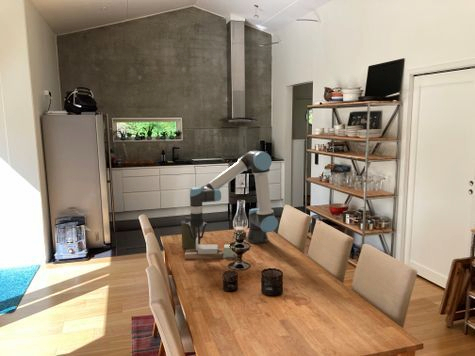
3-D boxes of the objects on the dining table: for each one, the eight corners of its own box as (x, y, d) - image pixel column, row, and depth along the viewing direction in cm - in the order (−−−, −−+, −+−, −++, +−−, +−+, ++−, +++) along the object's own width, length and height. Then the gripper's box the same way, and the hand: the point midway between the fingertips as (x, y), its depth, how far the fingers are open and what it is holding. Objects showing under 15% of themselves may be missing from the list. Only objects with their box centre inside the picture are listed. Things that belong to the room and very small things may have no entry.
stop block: (224, 253, 244) (224, 244, 243) (233, 253, 244) (233, 244, 243) (224, 256, 238) (224, 247, 237) (233, 256, 238) (233, 247, 237)
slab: (199, 249, 245) (198, 244, 244) (217, 248, 245) (217, 244, 244) (197, 253, 236) (197, 249, 235) (217, 253, 236) (217, 248, 235)
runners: (186, 253, 245) (186, 249, 244) (222, 253, 245) (222, 248, 245) (184, 258, 236) (184, 254, 236) (221, 258, 236) (221, 253, 236)
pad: (223, 252, 246) (223, 252, 246) (235, 252, 246) (235, 252, 246) (222, 258, 236) (222, 257, 236) (235, 258, 236) (235, 257, 236)
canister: (179, 247, 257) (178, 218, 254) (185, 243, 267) (184, 215, 264) (194, 249, 254) (193, 220, 251) (200, 244, 264) (199, 216, 261)
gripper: (185, 213, 233) (186, 251, 236) (206, 213, 233) (207, 250, 236) (186, 211, 240) (187, 247, 244) (207, 210, 240) (208, 246, 244)
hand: (197, 248), depth 240 cm, fingers closed
